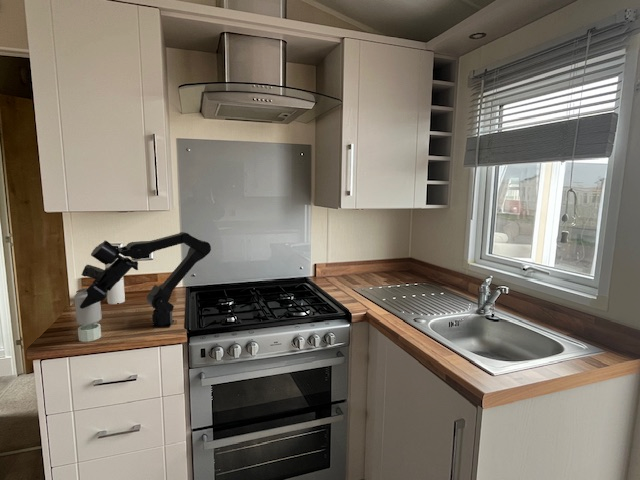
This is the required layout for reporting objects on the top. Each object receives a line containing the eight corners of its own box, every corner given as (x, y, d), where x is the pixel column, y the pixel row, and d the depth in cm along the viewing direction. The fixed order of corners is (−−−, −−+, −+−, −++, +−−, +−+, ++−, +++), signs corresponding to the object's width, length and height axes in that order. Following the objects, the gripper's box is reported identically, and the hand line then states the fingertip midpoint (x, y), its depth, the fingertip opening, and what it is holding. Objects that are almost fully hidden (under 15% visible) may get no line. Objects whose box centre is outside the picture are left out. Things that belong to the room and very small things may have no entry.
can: (73, 327, 125) (70, 293, 123) (81, 319, 132) (78, 287, 130) (98, 325, 127) (95, 292, 125) (104, 317, 134) (101, 286, 132)
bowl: (104, 333, 134) (103, 323, 133) (95, 341, 127) (94, 330, 127) (85, 334, 133) (84, 323, 133) (74, 341, 127) (73, 330, 126)
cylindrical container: (103, 303, 168) (100, 250, 165) (116, 298, 175) (113, 247, 172) (116, 304, 166) (112, 251, 163) (128, 300, 173) (125, 248, 169)
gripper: (101, 252, 136) (69, 283, 134) (91, 262, 119) (54, 298, 117) (126, 271, 140) (96, 301, 138) (120, 283, 123) (85, 318, 121)
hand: (83, 304), depth 128 cm, fingers closed on can, 7 cm apart
